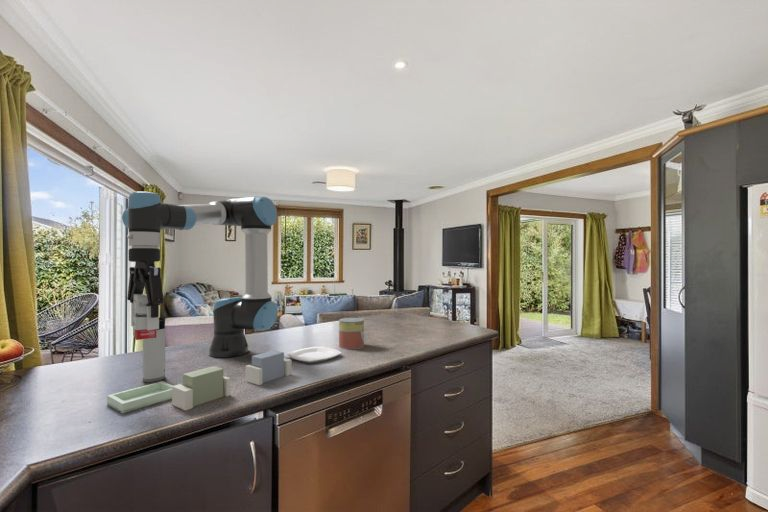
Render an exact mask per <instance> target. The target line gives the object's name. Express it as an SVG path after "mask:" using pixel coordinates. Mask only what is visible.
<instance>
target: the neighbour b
mask: <svg viewBox="0 0 768 512" xmlns="http://www.w3.org/2000/svg"><path fill="white" fill-rule="evenodd" d="M284 358H285V352H283V351H278V350H276V349H275V350H270V351H267V352H262V353H259V354H254V355H252V356H251V366H255V367H259V368H262V384H264V383H267V382H270V381H272V380H276V379H278V378H282V377H284V376H285V375H284Z"/></svg>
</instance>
